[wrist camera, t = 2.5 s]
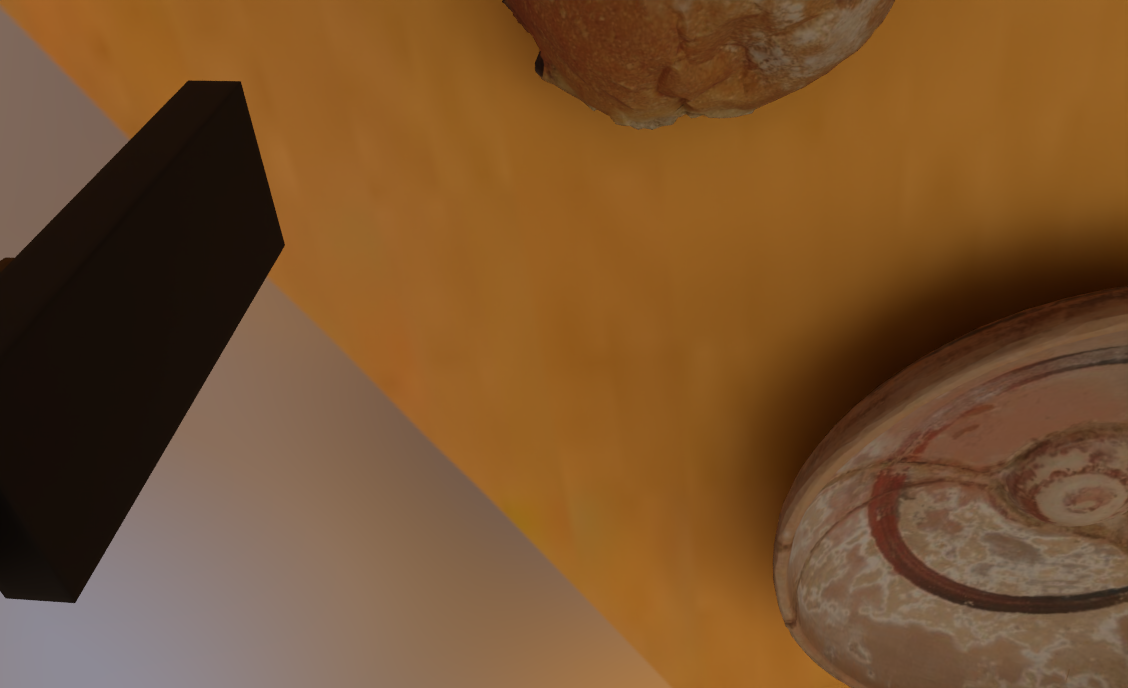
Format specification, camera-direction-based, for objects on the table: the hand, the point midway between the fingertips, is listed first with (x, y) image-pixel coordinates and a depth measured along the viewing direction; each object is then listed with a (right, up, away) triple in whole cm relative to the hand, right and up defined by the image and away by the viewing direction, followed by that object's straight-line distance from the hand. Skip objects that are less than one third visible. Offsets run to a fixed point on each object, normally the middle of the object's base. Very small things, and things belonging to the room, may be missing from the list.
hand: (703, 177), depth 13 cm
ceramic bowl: (+18, -7, +22) cm, 29 cm away
